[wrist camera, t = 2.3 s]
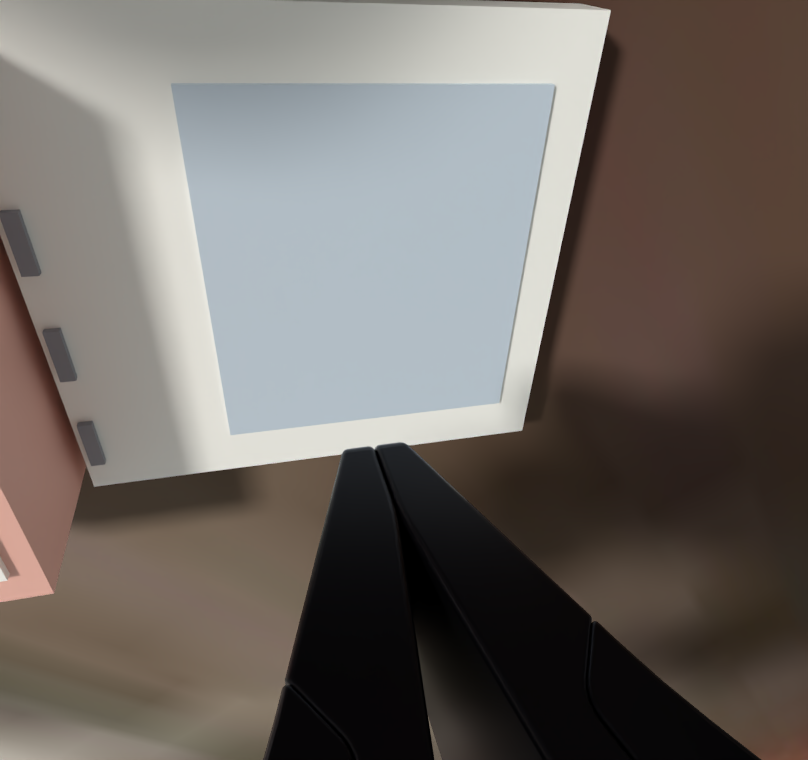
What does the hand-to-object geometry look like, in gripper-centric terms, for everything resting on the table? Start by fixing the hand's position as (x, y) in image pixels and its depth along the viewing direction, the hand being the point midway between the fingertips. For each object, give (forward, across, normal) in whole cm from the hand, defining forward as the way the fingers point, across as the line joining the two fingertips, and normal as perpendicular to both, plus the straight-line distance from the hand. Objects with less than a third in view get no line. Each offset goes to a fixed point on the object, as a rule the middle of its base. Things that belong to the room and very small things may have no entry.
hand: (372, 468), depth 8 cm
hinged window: (+7, 0, 0) cm, 7 cm away
